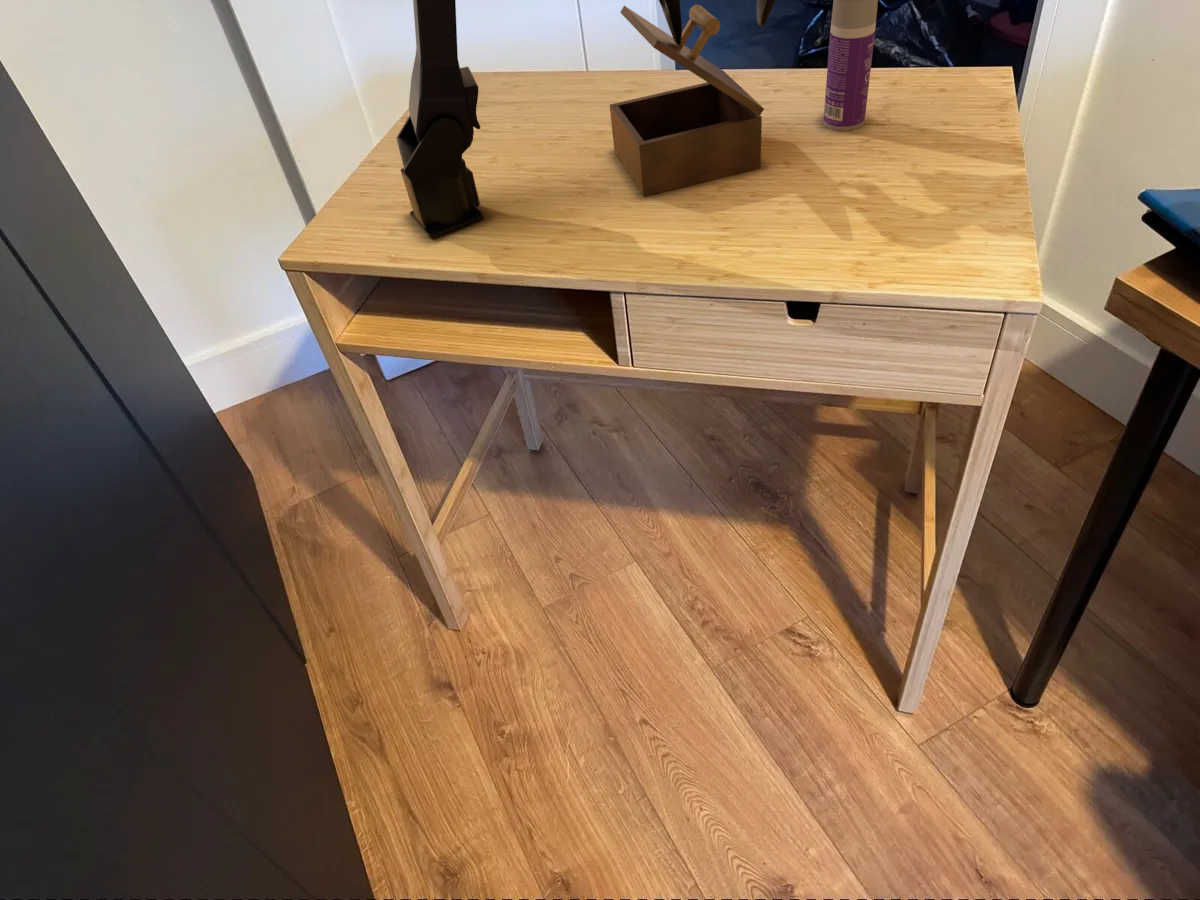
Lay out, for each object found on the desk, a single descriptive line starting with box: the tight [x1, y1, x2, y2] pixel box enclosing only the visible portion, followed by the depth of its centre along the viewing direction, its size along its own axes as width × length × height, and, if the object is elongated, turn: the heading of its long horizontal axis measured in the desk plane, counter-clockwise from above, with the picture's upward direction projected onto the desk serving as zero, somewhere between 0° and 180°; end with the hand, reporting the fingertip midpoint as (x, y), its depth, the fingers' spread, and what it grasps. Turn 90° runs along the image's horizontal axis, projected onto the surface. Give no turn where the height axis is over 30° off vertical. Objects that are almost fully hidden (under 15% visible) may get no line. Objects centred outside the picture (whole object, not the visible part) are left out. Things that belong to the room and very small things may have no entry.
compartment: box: [609, 81, 763, 197], centre depth 92 cm, size 14×12×6 cm
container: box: [822, 0, 879, 132], centre depth 91 cm, size 5×5×15 cm
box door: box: [620, 4, 765, 115], centre depth 85 cm, size 14×12×5 cm
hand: (719, 33), depth 85 cm, fingers open, 9 cm apart
